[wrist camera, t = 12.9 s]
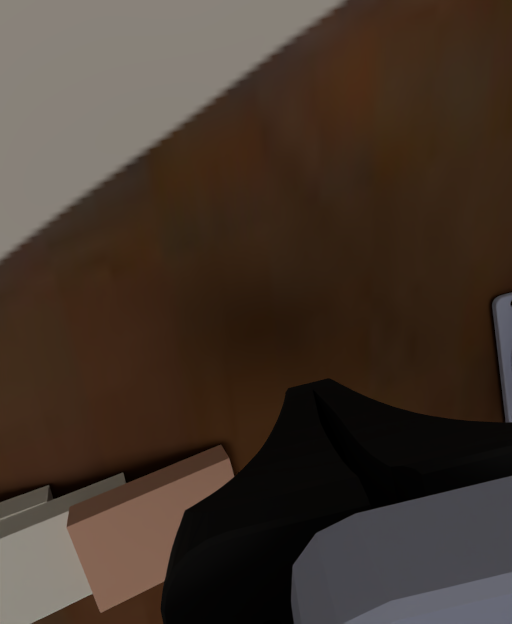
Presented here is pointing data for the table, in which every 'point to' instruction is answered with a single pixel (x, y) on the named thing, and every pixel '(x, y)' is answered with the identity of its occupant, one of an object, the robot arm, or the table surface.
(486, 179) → the table surface
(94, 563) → the terracotta domino
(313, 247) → the table surface
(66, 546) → the ivory domino
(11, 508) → the ivory domino
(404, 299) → the table surface
